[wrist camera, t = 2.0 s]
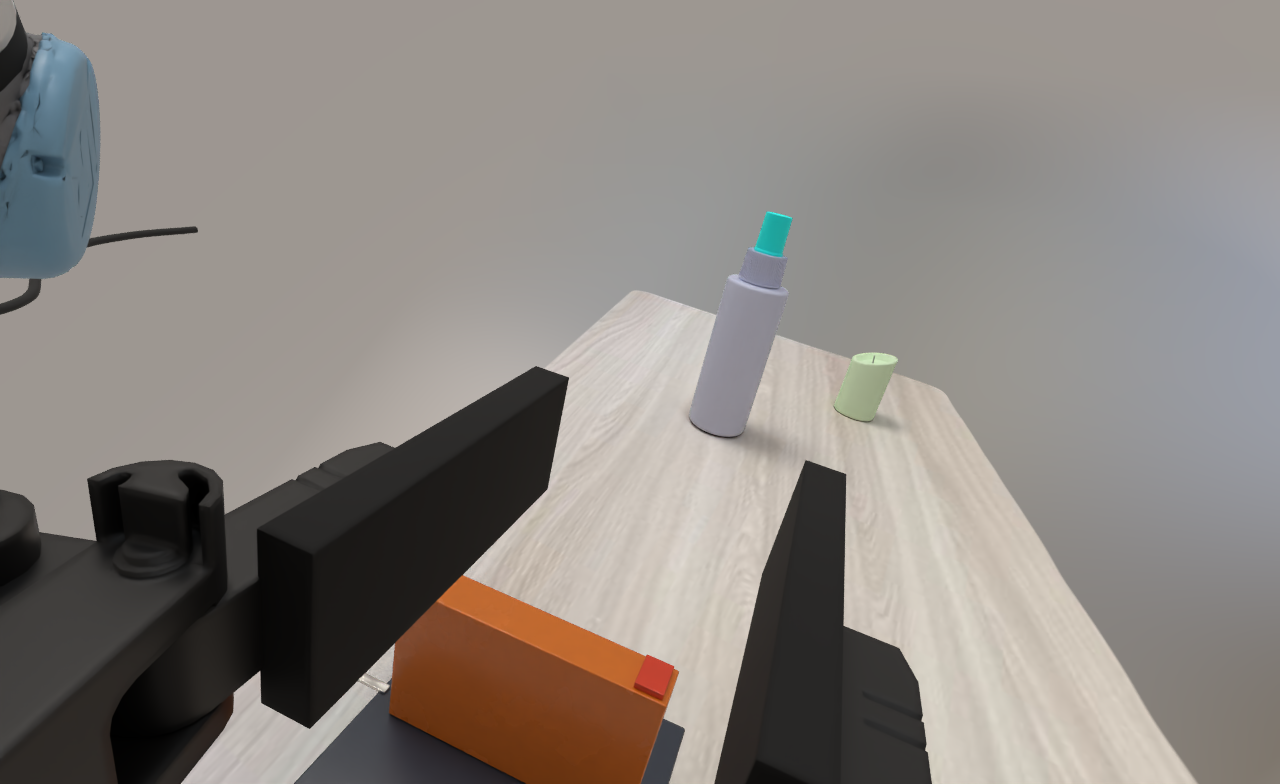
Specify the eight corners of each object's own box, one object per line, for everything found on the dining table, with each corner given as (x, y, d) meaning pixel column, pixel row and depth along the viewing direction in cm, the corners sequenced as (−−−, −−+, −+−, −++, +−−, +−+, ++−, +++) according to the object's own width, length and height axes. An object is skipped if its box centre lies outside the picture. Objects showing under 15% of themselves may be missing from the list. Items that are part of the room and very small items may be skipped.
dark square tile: (195, 912, 20) (189, 843, 19) (452, 627, 33) (459, 574, 31) (589, 1166, 17) (616, 1108, 16) (702, 743, 30) (722, 690, 28)
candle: (836, 414, 75) (860, 353, 72) (831, 400, 80) (853, 341, 77) (876, 425, 75) (902, 364, 72) (869, 410, 79) (893, 352, 76)
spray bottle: (691, 406, 67) (748, 204, 59) (744, 421, 67) (809, 220, 58) (684, 428, 62) (746, 209, 53) (742, 444, 61) (814, 226, 53)
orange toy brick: (388, 713, 24) (400, 579, 21) (414, 683, 25) (429, 554, 23) (623, 834, 22) (668, 701, 19) (637, 793, 23) (681, 665, 21)
